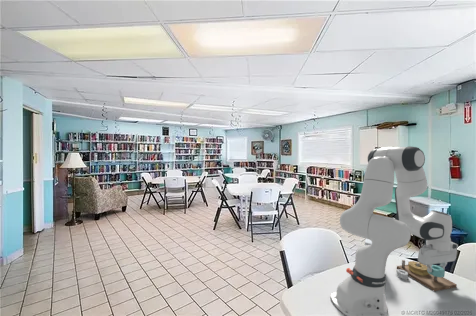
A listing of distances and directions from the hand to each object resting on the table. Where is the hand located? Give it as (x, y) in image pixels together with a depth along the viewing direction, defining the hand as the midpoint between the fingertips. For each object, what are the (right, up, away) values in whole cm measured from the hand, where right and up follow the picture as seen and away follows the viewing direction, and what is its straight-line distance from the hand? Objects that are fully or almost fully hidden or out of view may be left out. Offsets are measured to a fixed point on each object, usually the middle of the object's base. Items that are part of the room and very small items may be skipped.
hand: (435, 270), depth 109 cm
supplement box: (-25, -6, +10) cm, 27 cm away
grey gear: (-13, -6, +5) cm, 15 cm away
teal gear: (0, -2, 0) cm, 2 cm away
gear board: (-1, -6, +5) cm, 8 cm away
